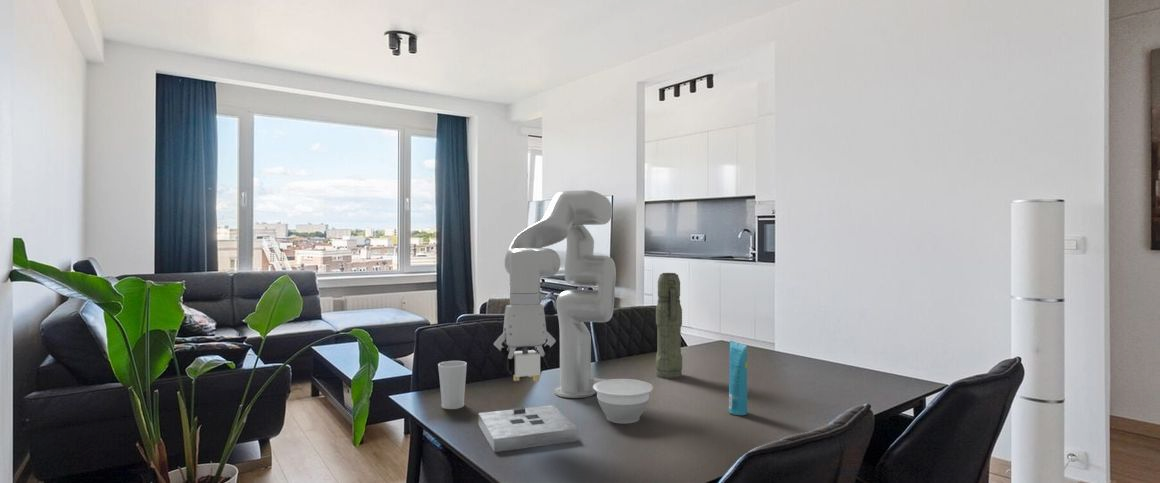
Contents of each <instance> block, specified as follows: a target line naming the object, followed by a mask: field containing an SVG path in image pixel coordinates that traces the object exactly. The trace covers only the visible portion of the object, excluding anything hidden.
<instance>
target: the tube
mask: <svg viewBox="0 0 1160 483" xmlns="http://www.w3.org/2000/svg"><path fill="white" fill-rule="evenodd" d="M729 341H730V342H729V376H728V377H729V380H728V383H729V384H728V413H729V414H731V415H734V416H746V415H747V414H748V373H747V372H748V359H747V356H748V353H747V351H748V349H747V347H748V345H747V344H744V343H740V342H737V341H734V340H732V339H730V340H729Z"/></svg>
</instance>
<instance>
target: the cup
mask: <svg viewBox="0 0 1160 483" xmlns="http://www.w3.org/2000/svg"><path fill="white" fill-rule="evenodd" d="M467 363H468V362H466V361H464V360H463V361H462V360H448V361H441V362H439V363H438V364H437V368H438V376H439V385H440V386H439V388H440V397H441V398H440V399H441V400H440V401H441V408H442V409H445V410H457V409H461V408H464V406H465V395H466V394H465V393H466V392H465V391H466V380H467V378H466V377H467Z"/></svg>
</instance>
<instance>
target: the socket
mask: <svg viewBox="0 0 1160 483" xmlns="http://www.w3.org/2000/svg"><path fill="white" fill-rule="evenodd" d="M478 426H479V429H480V430H481V431H482V433H483V435H484V438H485V439H486V441H487V442H488V444H489V446H490V448H491V449H492V452H494V453H500V452H506V451H507V452H508V451H513V450H521V449H529V448H535V447H536V448H537V447H544V446H550V445H560V444H564V443H565V444H567V443H573V442H578V441H579V439H578V438H579V432H578V431H579V429H578V428H577V426H576V425H575V424H574V423H573V422H572V421H570V419H568V418H567V416H565V415H564V414H563V413H562V412H561V411H560V410H559V409H558V408H557V407H556V406H555V405H554V404H550V405H542V406H541V405H540V406H532V407H531V406H530V407H524V406H519V407H512V408H511V409H504V410H503V409H502V410H496V411H486V412H485V411H483V412H478Z"/></svg>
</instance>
